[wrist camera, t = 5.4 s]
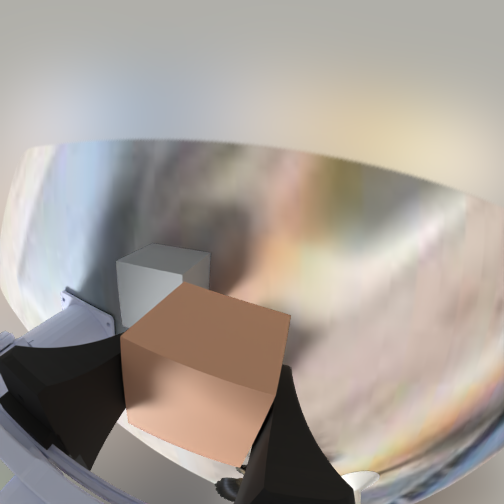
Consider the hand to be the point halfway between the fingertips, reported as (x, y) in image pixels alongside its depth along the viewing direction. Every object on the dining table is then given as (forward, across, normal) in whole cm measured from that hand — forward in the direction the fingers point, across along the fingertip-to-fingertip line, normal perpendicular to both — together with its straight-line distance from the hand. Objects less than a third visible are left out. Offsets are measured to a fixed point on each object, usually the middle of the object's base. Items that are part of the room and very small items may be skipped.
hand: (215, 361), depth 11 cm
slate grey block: (+10, +6, +2) cm, 11 cm away
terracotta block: (+2, 0, 0) cm, 2 cm away
